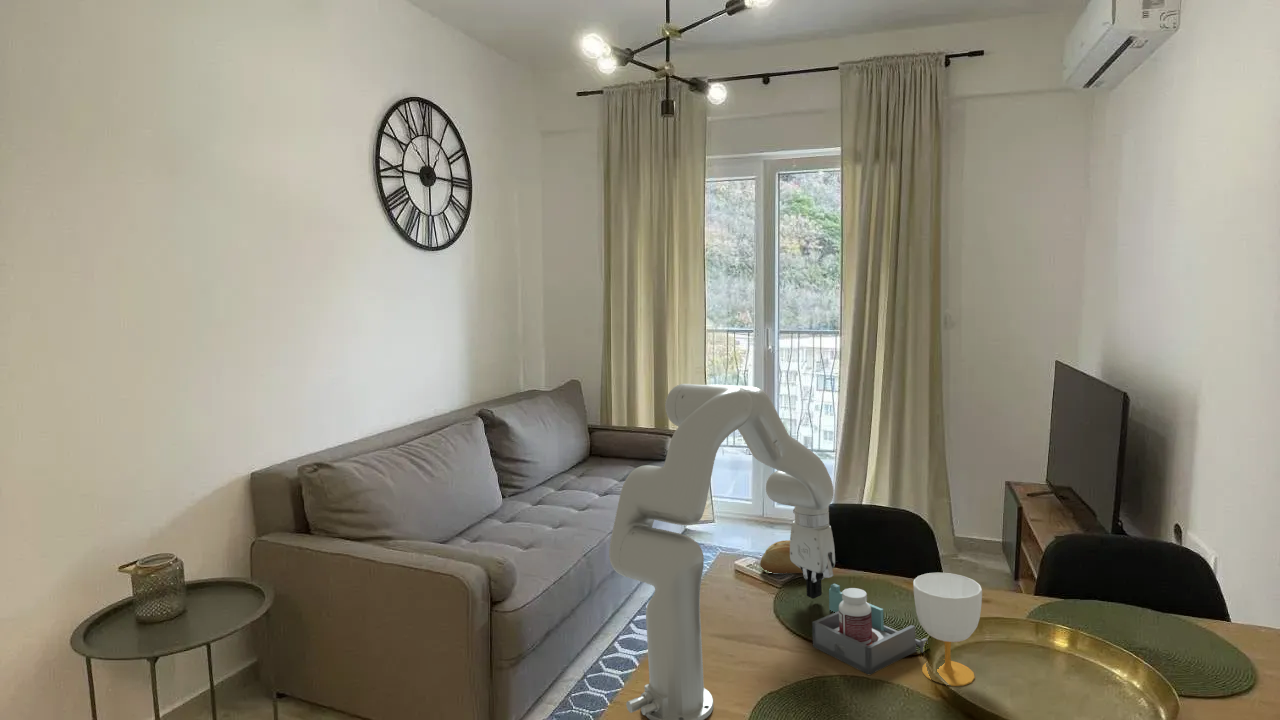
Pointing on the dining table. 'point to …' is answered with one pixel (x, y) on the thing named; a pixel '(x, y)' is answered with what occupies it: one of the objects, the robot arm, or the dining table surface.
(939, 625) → the cup
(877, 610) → the gate
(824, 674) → the dining table surface
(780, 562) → the bread roll
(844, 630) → the pill bottle
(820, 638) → the housing
